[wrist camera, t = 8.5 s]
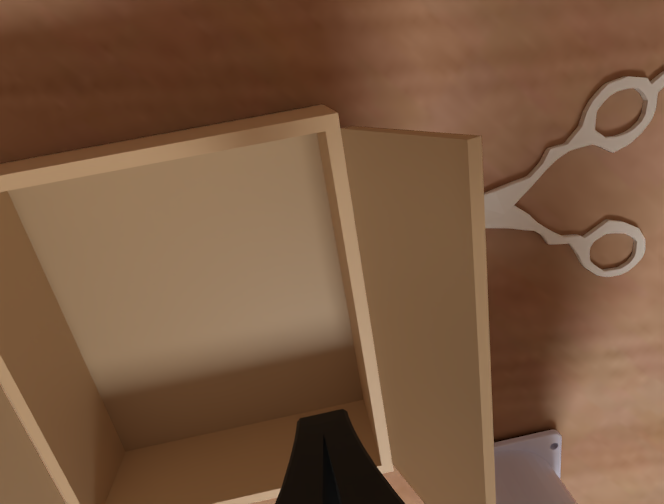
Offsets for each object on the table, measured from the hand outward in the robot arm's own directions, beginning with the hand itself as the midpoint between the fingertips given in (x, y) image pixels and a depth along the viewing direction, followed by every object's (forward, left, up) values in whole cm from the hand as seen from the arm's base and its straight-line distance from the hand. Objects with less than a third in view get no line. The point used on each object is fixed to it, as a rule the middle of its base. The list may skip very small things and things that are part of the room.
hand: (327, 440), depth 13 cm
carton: (0, +5, -10) cm, 11 cm away
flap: (0, -3, -2) cm, 4 cm away
